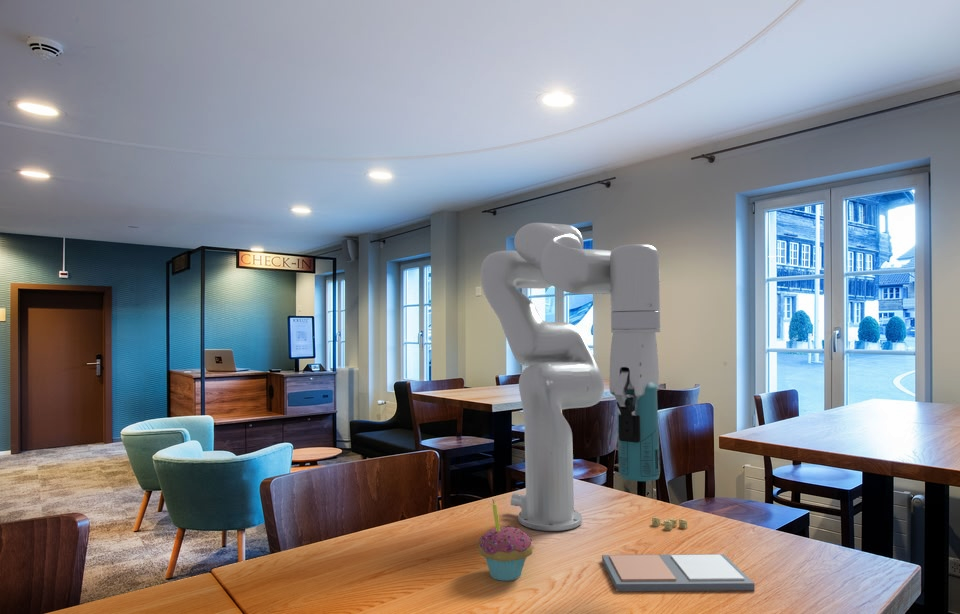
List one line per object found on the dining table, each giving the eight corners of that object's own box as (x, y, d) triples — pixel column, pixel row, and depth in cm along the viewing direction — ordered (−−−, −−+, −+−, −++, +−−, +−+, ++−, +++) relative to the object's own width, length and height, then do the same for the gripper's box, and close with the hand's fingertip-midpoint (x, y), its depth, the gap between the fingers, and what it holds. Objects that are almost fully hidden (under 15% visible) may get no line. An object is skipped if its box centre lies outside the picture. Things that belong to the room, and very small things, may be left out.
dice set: (689, 531, 111) (688, 520, 111) (669, 535, 109) (669, 525, 109) (669, 523, 116) (669, 513, 116) (650, 527, 113) (649, 517, 113)
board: (616, 591, 85) (616, 582, 85) (602, 561, 96) (602, 553, 96) (754, 590, 84) (754, 581, 84) (724, 560, 95) (723, 552, 95)
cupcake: (494, 590, 85) (493, 508, 86) (469, 570, 93) (468, 494, 93) (543, 578, 89) (541, 499, 90) (515, 559, 97) (514, 487, 97)
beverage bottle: (663, 492, 87) (660, 359, 88) (618, 490, 88) (615, 359, 89) (658, 480, 93) (656, 356, 94) (616, 479, 95) (614, 356, 95)
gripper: (631, 323, 101) (633, 427, 100) (590, 323, 87) (592, 444, 86) (675, 323, 97) (677, 431, 96) (639, 323, 82) (642, 450, 82)
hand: (637, 436), depth 91 cm, fingers closed on beverage bottle, 6 cm apart
